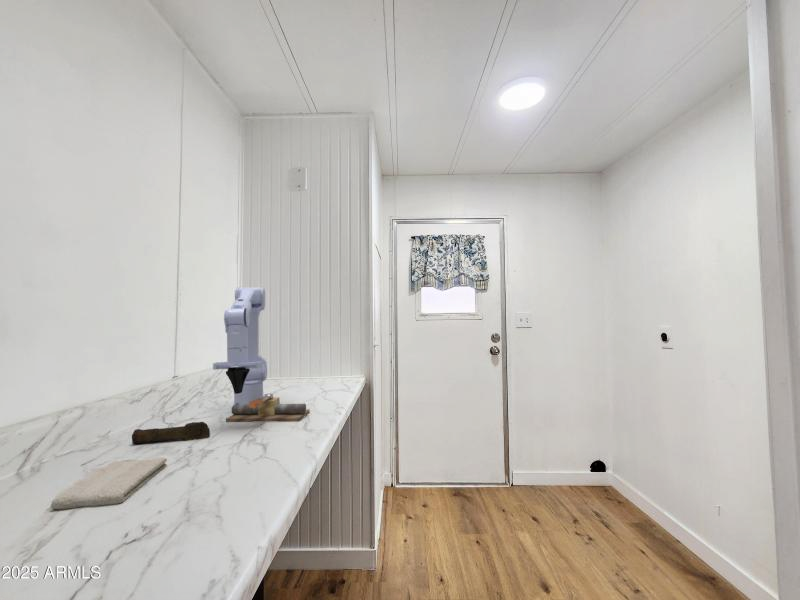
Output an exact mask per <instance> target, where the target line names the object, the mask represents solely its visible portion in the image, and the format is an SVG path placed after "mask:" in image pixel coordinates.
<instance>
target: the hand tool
mask: <svg viewBox="0 0 800 600" xmlns="http://www.w3.org/2000/svg"><path fill="white" fill-rule="evenodd" d="M210 435H211V430H210V428H209V425H208V424H207V423H206V422H204V421H199V422H198V421H196V422H189V423H186V424H184V426H173V427H163V428H156V427H155V428H147V429H140V428H137V429H134V431H133V433H132V435H131V442H132V445H137V444H139V445H141V444H142V443H148V442H149V443H150V442H159V441H160V442H161V441H170V440H185V441H195V440H194V439H196V440H201V439H205V438H209V437H211V436H210Z"/></svg>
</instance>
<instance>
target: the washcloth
mask: <svg viewBox="0 0 800 600" xmlns="http://www.w3.org/2000/svg"><path fill="white" fill-rule="evenodd" d="M166 462H167V457H155V458H149V459H124V460H116V461H111V462H110V463H108V464H106V465H105V466H104V467H100V468H94V469H93V470H92V471H91V472H90V473H89V474H87V475H86V476H85V477H82V478H81V479H79V480H77V481H75V482H74V483H73V484H72V485H70V486H68V487H67V488H66V489H63V491H60V492H59V493H57V494H56V496H55V497H54V498H53V500H51V505H50V507H51V509H53V510H54V509H55V510H66V509H74V508H75V509H77V508H81V507H82V508H84V507H98V506H109V505H118V504H123V503H124V502H125V501H126V500H128V499H129V497H131V496H133V494H135V492H137V491H138V490H139V489H141V488H142V487H143V486H144V485H146V484H147V482H149V481H150V480H151V479H152V478H154V477H155V476H156V475H157V474H158V473H160V472H161V471H163V470H164V469H165V468H166V467H168V465H167V463H166Z"/></svg>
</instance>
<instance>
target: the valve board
mask: <svg viewBox="0 0 800 600" xmlns="http://www.w3.org/2000/svg"><path fill="white" fill-rule="evenodd" d="M310 410H311V409H307V404H306V403H280V397H279V396H278V397H273V398H268V399H267V400H265V401H263V404H261V405H259V406H257V407H256V408H249V404H234V403H233V405H232V407H231V415H230V416H228V417H226V418H225V422H226V423H239V422H240V421H277V422H300V421H302V420H303V419H304V418H305V417H306V416H307V415H308V414H310V413H309V412H310ZM304 416H305V417H304ZM303 417H304V418H303ZM302 418H303V419H302ZM240 423H241V422H240Z"/></svg>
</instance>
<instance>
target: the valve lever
mask: <svg viewBox="0 0 800 600" xmlns="http://www.w3.org/2000/svg"><path fill="white" fill-rule="evenodd" d="M268 398H274V394H273V393H265V394H264V395H263V397H262V398H256V399H254V400H252V401H250V402H249V408H256V407H257V406H259V405H261V404H263V401H265V400H267V399H268Z"/></svg>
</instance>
